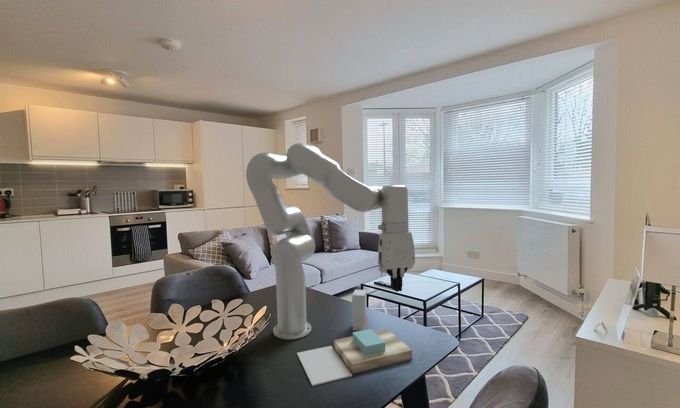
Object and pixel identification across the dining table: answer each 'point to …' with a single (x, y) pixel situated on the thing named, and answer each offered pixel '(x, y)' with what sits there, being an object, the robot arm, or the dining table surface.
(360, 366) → the beige brown rectangular slab
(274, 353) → the dining table surface
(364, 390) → the dining table surface
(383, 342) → the tile
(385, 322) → the dining table surface
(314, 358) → the mat
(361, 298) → the skincare box
